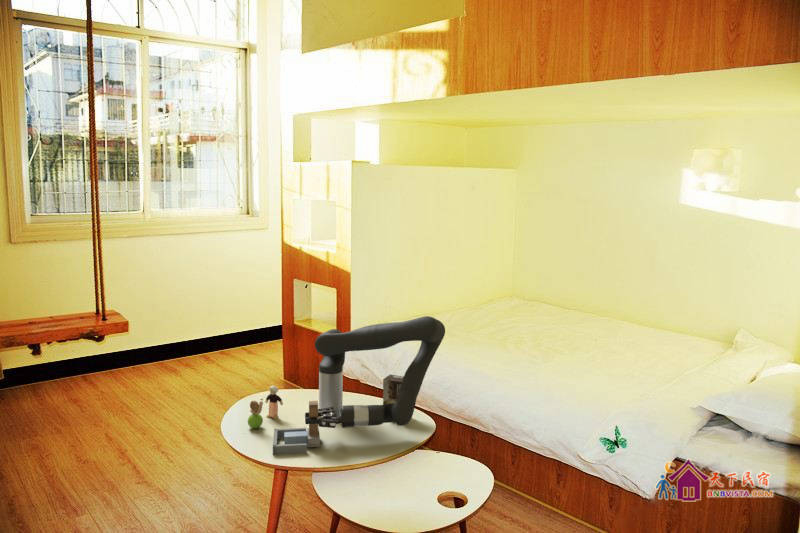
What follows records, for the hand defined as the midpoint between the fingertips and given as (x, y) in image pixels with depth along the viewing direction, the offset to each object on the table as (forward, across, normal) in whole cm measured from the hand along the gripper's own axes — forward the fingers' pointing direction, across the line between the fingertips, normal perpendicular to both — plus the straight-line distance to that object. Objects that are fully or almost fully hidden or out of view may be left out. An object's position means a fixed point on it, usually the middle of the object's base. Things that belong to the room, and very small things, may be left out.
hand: (305, 418), depth 213 cm
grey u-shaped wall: (+5, 0, +10) cm, 11 cm away
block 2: (+1, 0, +10) cm, 10 cm away
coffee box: (-35, -20, +10) cm, 42 cm away
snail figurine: (+18, -16, +10) cm, 26 cm away
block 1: (+5, 0, +10) cm, 11 cm away
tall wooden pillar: (-3, 0, +9) cm, 9 cm away
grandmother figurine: (+12, -26, +10) cm, 30 cm away
